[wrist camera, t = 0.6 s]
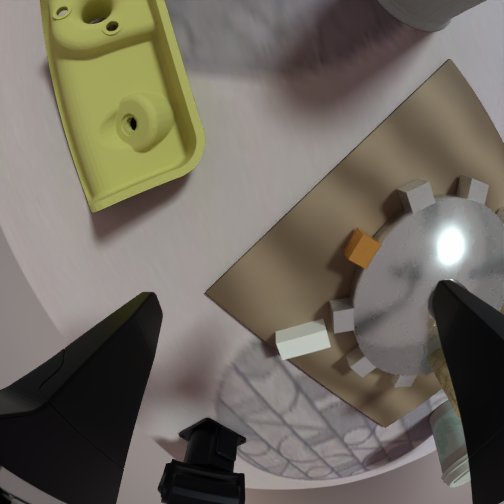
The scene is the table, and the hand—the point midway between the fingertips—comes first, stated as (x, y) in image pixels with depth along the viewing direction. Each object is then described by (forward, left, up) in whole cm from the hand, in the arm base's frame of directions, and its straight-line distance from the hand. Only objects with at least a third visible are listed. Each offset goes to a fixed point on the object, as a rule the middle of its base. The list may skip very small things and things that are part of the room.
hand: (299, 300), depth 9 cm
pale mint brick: (-7, -10, -15) cm, 19 cm away
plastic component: (-1, +16, -15) cm, 23 cm away
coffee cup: (-2, -38, -15) cm, 41 cm away
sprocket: (+5, -16, -15) cm, 22 cm away
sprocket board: (+5, -16, -15) cm, 22 cm away
